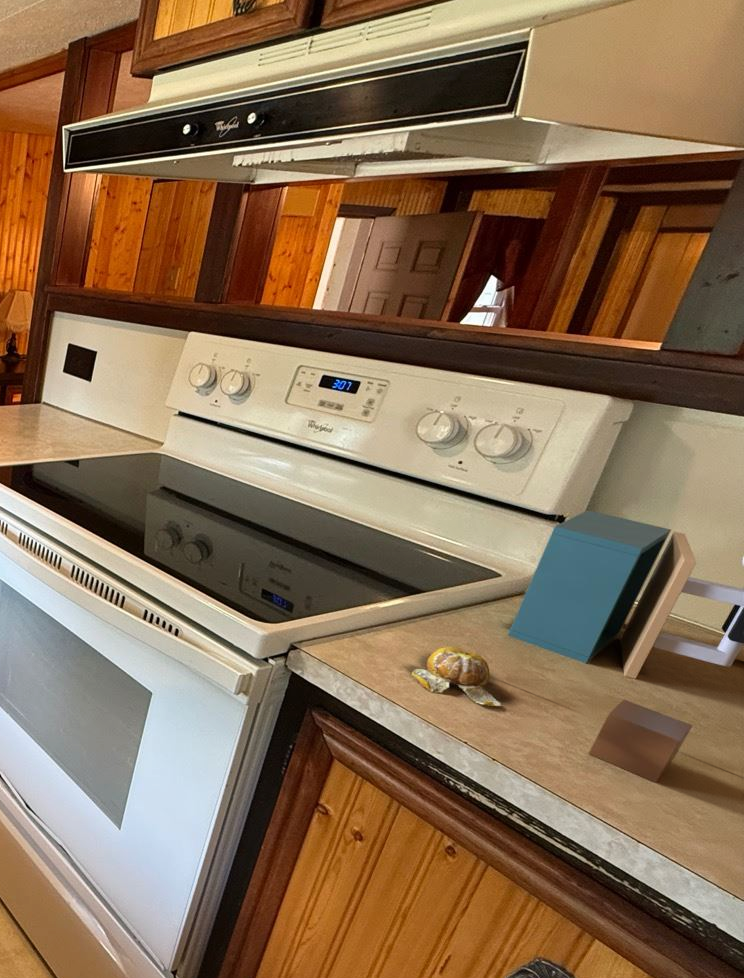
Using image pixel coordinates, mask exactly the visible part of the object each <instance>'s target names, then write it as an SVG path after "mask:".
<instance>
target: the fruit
mask: <svg viewBox="0 0 744 978" xmlns="http://www.w3.org/2000/svg"><path fill="white" fill-rule="evenodd" d="M426 667H427V668H426V669H422V668H415V669H414V670H413V671H412V672H411V675H412V677H413V678H414V679H416V680H417V681H418V682H419V684H420V685H421V686H422V687H423V688H426V689H427V691H430V692H431V693H435V694H437V693H438V694H439V693H440V694H442V693H443V692H444V691H445V690H447V689H449V688H450V684H453V685H456V686H458V687H459V688H460V689H462V691H463V692H464V693H465V694H466V695H467V697H468V698H469V699H471V700H472V701H473V702H474V703H475V704H479V705H484V706H487V707H502V706H503V704H502V703H501V702H500V701H498V699H496V698H495V697H494V696H493V694H491V693H489V692H488V690H486V689H485V688H484V686H485V685H487V683H488V682H489V681H490V667H489V665H488V662H487V661H486V660H485V659H484V658H483V657H482V656H481V655H479V654H478V653H475V652H473V651H472V652H471V651H469V650H465V649H463V648H459V647H454V646H446V647H445V646H444V647H440V648H438V649H437V650H435V651H434V652H432V653H431V655H430V656H429V657H428V658H427V660H426Z"/></svg>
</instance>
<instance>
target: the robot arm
mask: <svg viewBox="0 0 744 978" xmlns="http://www.w3.org/2000/svg"><path fill="white" fill-rule="evenodd" d="M741 561H742V566H743V567H744V556H742V560H741ZM742 589H744V587H743V588H742ZM739 608H740V606H739V605H735V604H733V607H732V608H731V610H730V611H729V613H728V615H727V617H726V619H725V621H724V623H723V625H722V626H721V630H722V631H723V632H724V634H725V633H726V631H727V630H728V628H729V626H730V624H731V622H732V621H733V619H734V617H735V615H736V614H737V612H738V610H739ZM728 638H729V639H730V640H731V641H734V642H739V643H743V645H744V607H743V609H742V611H741V613H740V614H739V616H738V618H737V620H736V622H735V623H734V625H733V627H732V629H731V630H730V632H729V634H728Z"/></svg>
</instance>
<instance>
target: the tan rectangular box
mask: <svg viewBox="0 0 744 978" xmlns="http://www.w3.org/2000/svg"><path fill="white" fill-rule="evenodd" d="M696 564H697V560H696V557H695V555H694V553H693V550H692V548H691V545H690V543H689V541H688V539H687V536H686V534H685V533H683V532H677V531H673V532H672V534H671V536H670V539H669V540H668V542H667V544H666V546H665V548H664V550H663V552H662V554H661V555H660V558H659V560H658V562H657V564H656V566H655V568H654V570H653V572H652V574H651V576H650V578H649V580H648V582H647V584H646V586H645V588H644V590H643V592H642V594H641V596H640V597H639V600H638V601H637V604H636V606H635V608H634V609H633V612H632V614H631V616H630V617H629V620H628V622H627V624H626V626H625V628H624V630H623V631H622V634H621V636H620V638H619V642H620V650H621V659H622V666H623V676H624V677H627V678H631V679H633V680H636V679H637V678H638V675H639V674H640V671H641V670H642V668H643V666H644V665H645V662H646V660H647V658H648V656H649V654H650V652H651V650H652V649H653V648H655V649H659V650H663V651H666V652H670V653H674V654H676V655H677V654H678V655H681V656H684V657H689V658H693V659H696V660H700V661H704V662H707V663H712V664H715V665H719V666H723V667H731V666H732V665H733V663H734V662H735V660H736V658H737V657H738V654H739V653H740V651H741V649H742V648H743V646H744V644H743V643H739V642H734V641H731V640H730V639H729V638H728V634H729V632H730V630H731V629H732V627H733V625H734V623H735V622H736V620H737V618H738V616H739V614H740V613H741V611H742V609H743V607H744V589H743V588H741V587H736V586H732V585H728V584H724V583H719V582H714V581H709V580H705V579H700V578H696V577H692V576H691V574H692V573H693V570H694V568H695V566H696ZM681 593H683V594H687V595H692V596H696V597H700V598H705V599H709V600H713V601H718V602H722V603H727V604H729V605H730V604H731V605H739V606H740V608H739V610H738V612H737V614H736V615H735V617H734V619H733V621H732V622H731V624H730V626H729V628H728V630H727V631H726V633H725V632H724V635H723V637H722V638H721V639H720V642H719V644H718V645H713V644H710V643H705V642H701V641H697V640H693V639H689V638H686V637H682V636H678V635H674V634H671V633H665V632H663V631H662V630H663V628H664V625H665V624H666V622H667V620H668V619H669V617H670V614H671V612H672V611H673V609H674V607H675V605H676V602H677V601H678V599H679V598H680V596H681Z"/></svg>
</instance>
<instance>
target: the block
mask: <svg viewBox="0 0 744 978" xmlns="http://www.w3.org/2000/svg"><path fill="white" fill-rule="evenodd" d="M692 728H693V724H691V723H688V722H685V721H682V720H680V719H677V718H674V717H672V716H669V715H667V714H664V713H661V712H659V711H656V710H653V709H651V708H648V707H646V706H643V705H640V704H638V703H635V702H631V701H629V700H626V699H622V700H621V701H620V702H619V703H618V704H617V705H616V706H615V707H614V708H613V709H612V710H611V711H610V712H609V713H608V714H607V717H605V721H604V722H603V724H602V726H601V728H600V730H599V732H598V734H597V736H596V737H595V740H594V741H593V743H592V746H590V749H589V751H588V755H590V756H593V757H595V758H597V759H599V760H602V761H605V762H606V763H609V764H611V765H612V766H613V765H614V766H616V767H618V768H619V769H623V770H625V771H627V772H630V773H632V774H635V775H637V776H640V777H642V778H644V779H646V780H648V781H650V782H653V783H656V784H657V783H658V781H660V779H661V778H662V777H663V775H664V774H665V772H666V771H667V770H668V769H669V768H670V766H671V764H672V762H674V759H675V757H676V756H677V754H678V752H679V751H680V749H681V747H682V746H683V744H684V742H685V740H686V738H687V736H688V735H689V733H690V731H691V729H692Z"/></svg>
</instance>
